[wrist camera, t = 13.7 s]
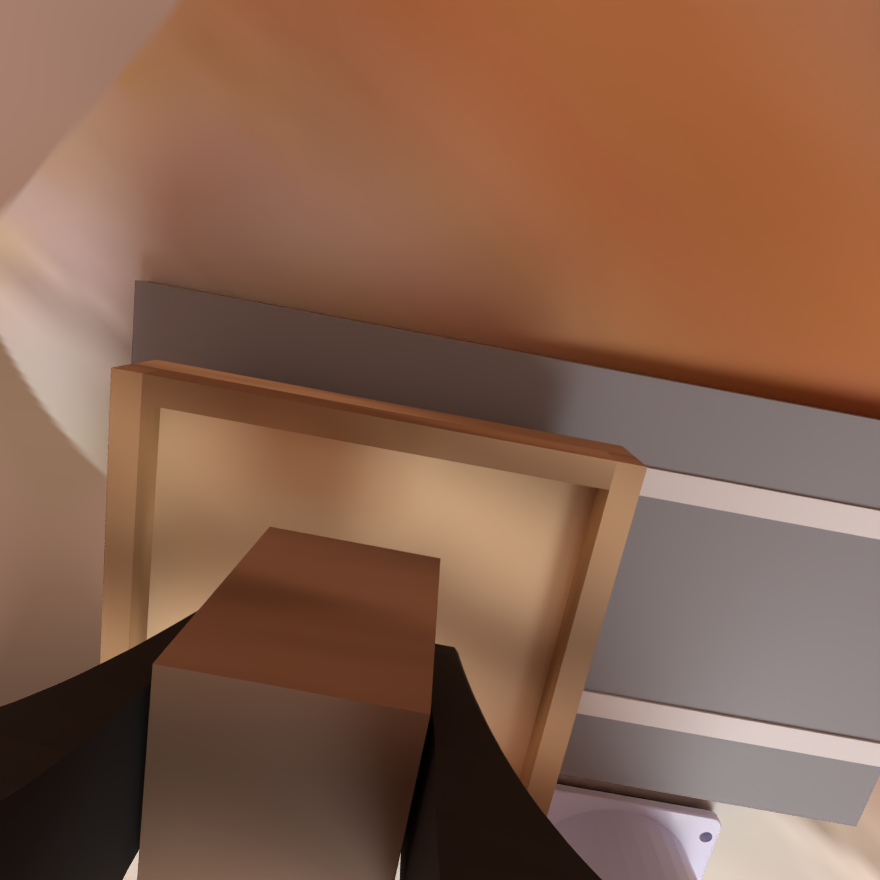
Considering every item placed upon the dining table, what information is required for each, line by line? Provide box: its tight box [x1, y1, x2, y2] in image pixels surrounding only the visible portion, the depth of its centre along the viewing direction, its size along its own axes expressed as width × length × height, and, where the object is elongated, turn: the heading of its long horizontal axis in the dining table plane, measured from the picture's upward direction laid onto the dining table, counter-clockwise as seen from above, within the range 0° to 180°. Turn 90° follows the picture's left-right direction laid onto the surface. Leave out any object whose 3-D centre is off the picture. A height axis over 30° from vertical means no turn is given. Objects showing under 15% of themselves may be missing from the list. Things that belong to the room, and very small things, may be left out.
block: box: [137, 527, 441, 880], centre depth 11 cm, size 4×4×5 cm
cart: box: [100, 360, 647, 817], centre depth 18 cm, size 12×14×4 cm
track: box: [132, 281, 880, 826], centre depth 20 cm, size 16×30×1 cm, turn 80°
